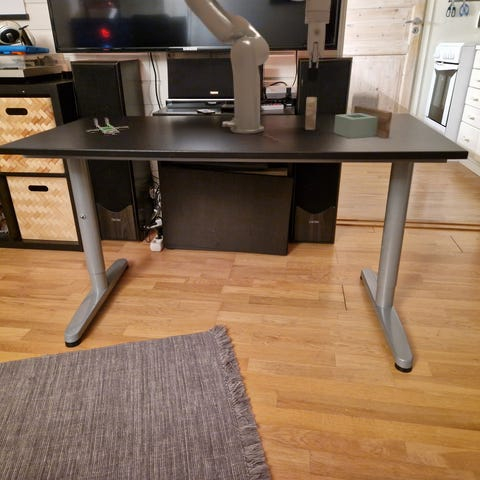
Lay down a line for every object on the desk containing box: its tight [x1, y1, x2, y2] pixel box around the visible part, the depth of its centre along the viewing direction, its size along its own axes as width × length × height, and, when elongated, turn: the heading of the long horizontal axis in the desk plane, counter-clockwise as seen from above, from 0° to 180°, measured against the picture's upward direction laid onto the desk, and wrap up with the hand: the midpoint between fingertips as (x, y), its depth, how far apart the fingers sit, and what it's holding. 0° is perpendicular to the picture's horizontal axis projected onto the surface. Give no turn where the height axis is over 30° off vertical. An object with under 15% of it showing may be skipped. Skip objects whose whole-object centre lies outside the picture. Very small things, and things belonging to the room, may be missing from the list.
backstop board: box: [354, 106, 393, 139], centre depth 135 cm, size 20×18×9 cm
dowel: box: [304, 96, 318, 131], centre depth 145 cm, size 4×4×12 cm
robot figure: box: [85, 117, 130, 135], centre depth 160 cm, size 16×3×22 cm
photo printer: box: [350, 89, 380, 114], centre depth 160 cm, size 10×4×12 cm, turn 60°
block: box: [333, 113, 378, 139], centre depth 136 cm, size 10×10×6 cm
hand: (312, 80), depth 135 cm, fingers closed
